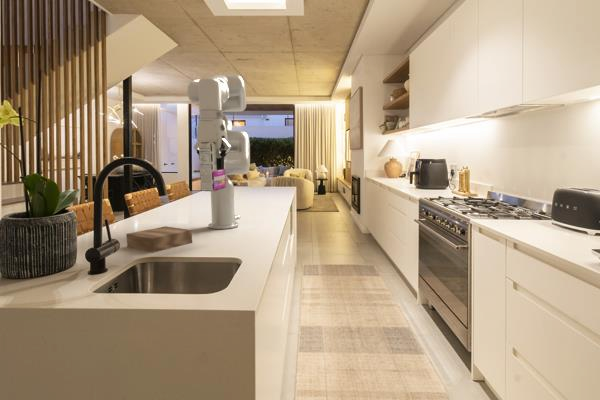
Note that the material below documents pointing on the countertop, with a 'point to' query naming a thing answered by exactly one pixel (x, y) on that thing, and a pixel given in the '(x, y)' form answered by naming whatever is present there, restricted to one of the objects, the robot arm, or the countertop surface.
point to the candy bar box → (210, 168)
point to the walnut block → (159, 239)
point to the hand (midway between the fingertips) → (212, 169)
